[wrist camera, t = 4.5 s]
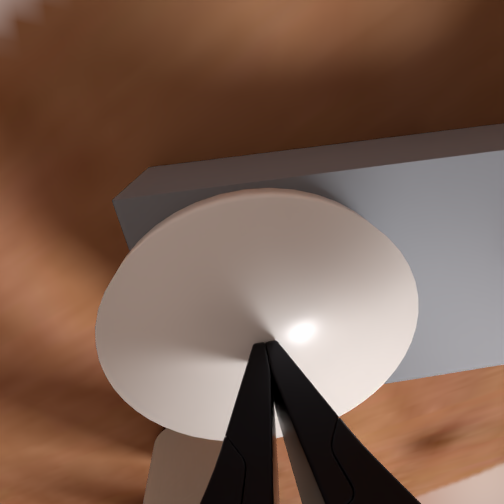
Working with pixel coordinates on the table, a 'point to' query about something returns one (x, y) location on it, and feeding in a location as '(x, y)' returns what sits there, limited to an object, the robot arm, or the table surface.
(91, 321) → the table surface
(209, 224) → the ivory plug
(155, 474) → the travel mug
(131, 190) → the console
